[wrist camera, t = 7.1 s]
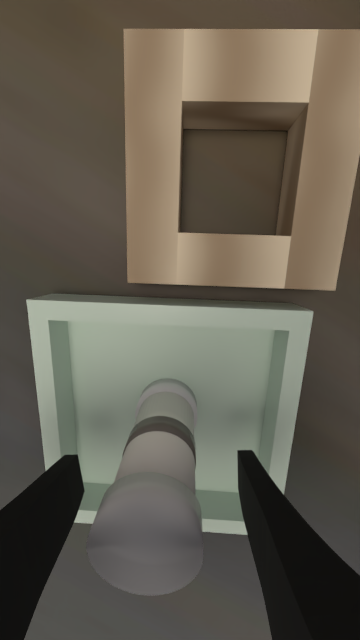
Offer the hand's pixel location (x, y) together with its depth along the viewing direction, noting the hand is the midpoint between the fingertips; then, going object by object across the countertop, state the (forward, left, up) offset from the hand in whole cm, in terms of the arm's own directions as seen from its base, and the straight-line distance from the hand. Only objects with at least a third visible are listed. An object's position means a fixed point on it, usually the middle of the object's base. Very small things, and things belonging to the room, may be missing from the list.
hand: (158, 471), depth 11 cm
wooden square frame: (-3, -13, -5) cm, 14 cm away
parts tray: (0, 0, -5) cm, 5 cm away
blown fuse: (0, 0, -5) cm, 5 cm away
